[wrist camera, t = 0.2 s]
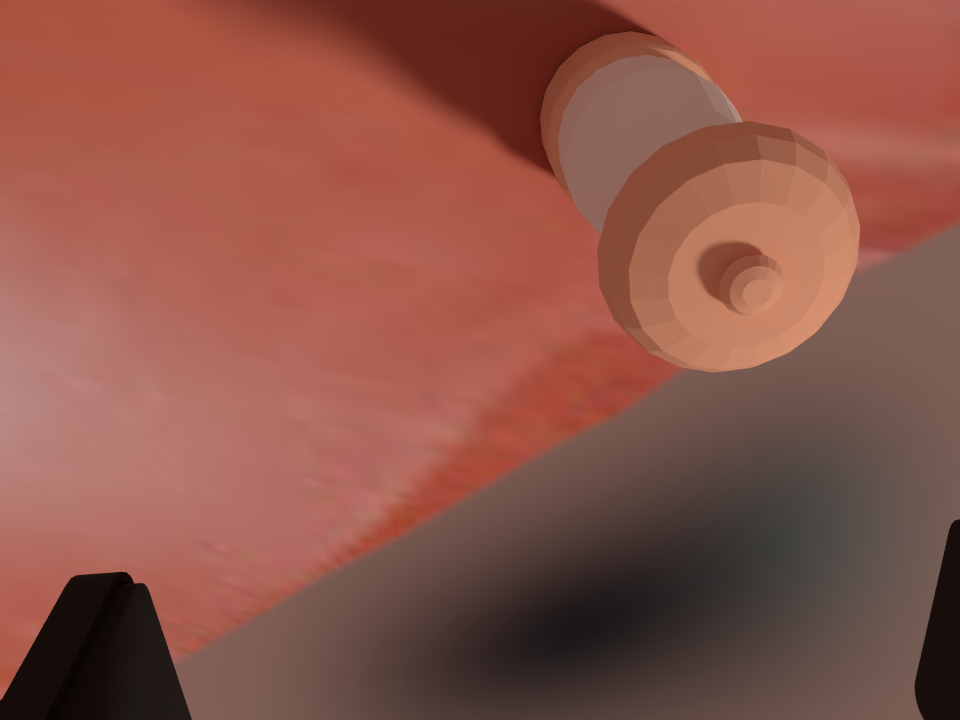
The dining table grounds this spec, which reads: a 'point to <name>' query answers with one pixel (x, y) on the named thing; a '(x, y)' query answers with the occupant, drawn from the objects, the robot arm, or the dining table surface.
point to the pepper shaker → (697, 206)
